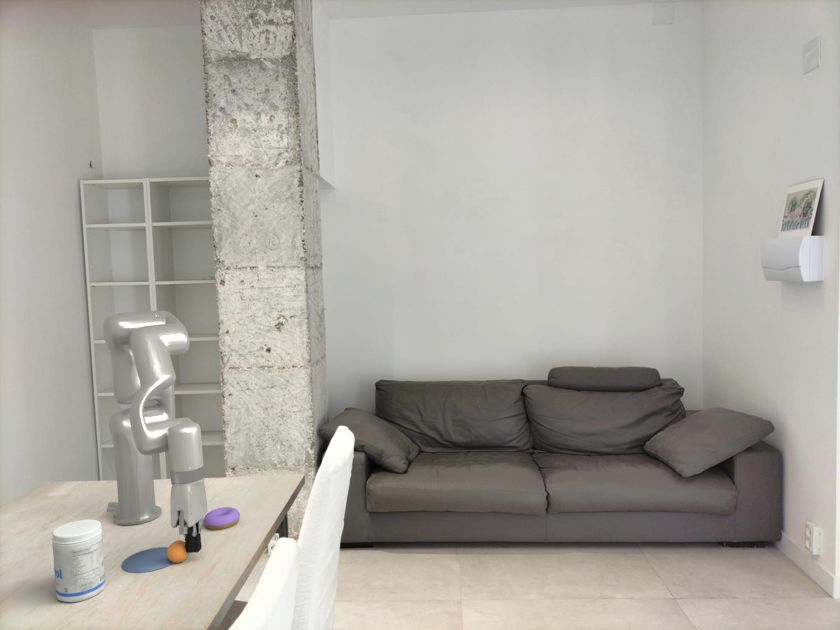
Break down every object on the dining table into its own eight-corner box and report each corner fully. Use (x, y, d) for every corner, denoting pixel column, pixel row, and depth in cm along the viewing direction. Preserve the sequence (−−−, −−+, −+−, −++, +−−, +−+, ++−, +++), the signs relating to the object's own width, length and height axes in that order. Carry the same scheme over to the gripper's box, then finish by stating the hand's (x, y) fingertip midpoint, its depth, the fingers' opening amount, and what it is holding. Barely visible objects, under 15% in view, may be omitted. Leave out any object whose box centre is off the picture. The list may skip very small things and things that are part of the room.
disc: (110, 572, 145) (110, 571, 145) (139, 547, 158) (139, 547, 158) (163, 572, 144) (163, 572, 144) (189, 547, 157) (189, 547, 157)
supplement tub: (49, 595, 136) (44, 529, 135) (95, 577, 143) (90, 515, 142) (67, 609, 130) (61, 540, 129) (113, 590, 137) (109, 525, 136)
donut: (230, 531, 166) (225, 514, 166) (199, 537, 168) (195, 519, 168) (247, 516, 175) (243, 500, 175) (218, 522, 177) (214, 505, 177)
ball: (183, 568, 147) (162, 565, 148) (192, 556, 152) (172, 552, 153) (184, 549, 146) (163, 546, 147) (193, 537, 151) (173, 534, 151)
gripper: (186, 467, 156) (192, 539, 157) (156, 486, 141) (163, 565, 142) (215, 465, 155) (221, 538, 156) (188, 484, 140) (195, 564, 141)
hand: (193, 551), depth 149 cm, fingers closed
